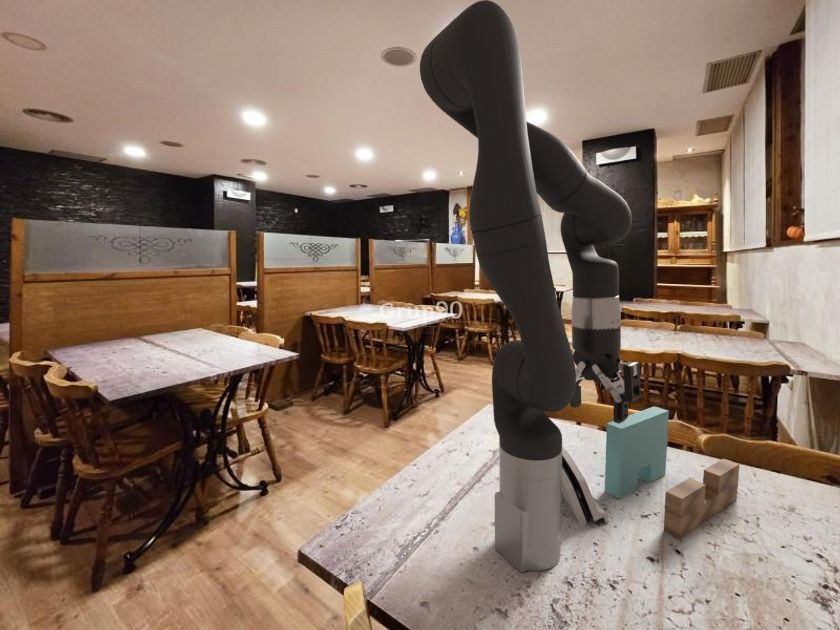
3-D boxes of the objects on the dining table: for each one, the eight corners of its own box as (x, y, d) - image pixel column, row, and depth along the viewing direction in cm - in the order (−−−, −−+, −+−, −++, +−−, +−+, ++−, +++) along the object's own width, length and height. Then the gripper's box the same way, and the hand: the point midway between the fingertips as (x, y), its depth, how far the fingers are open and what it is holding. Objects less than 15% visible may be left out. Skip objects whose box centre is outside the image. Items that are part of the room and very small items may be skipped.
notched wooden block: (679, 539, 63) (681, 498, 63) (663, 530, 66) (665, 491, 65) (736, 499, 73) (739, 464, 73) (721, 492, 76) (723, 458, 75)
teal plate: (618, 499, 75) (621, 428, 73) (604, 491, 77) (606, 423, 75) (665, 474, 82) (668, 410, 81) (651, 468, 85) (654, 406, 83)
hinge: (610, 524, 67) (591, 473, 66) (583, 533, 68) (564, 483, 67) (574, 473, 84) (558, 431, 83) (552, 480, 84) (537, 439, 83)
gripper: (546, 321, 70) (549, 407, 73) (622, 331, 58) (622, 434, 60) (574, 315, 74) (576, 397, 76) (651, 323, 62) (650, 421, 64)
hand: (596, 413), depth 68 cm, fingers open, 8 cm apart
